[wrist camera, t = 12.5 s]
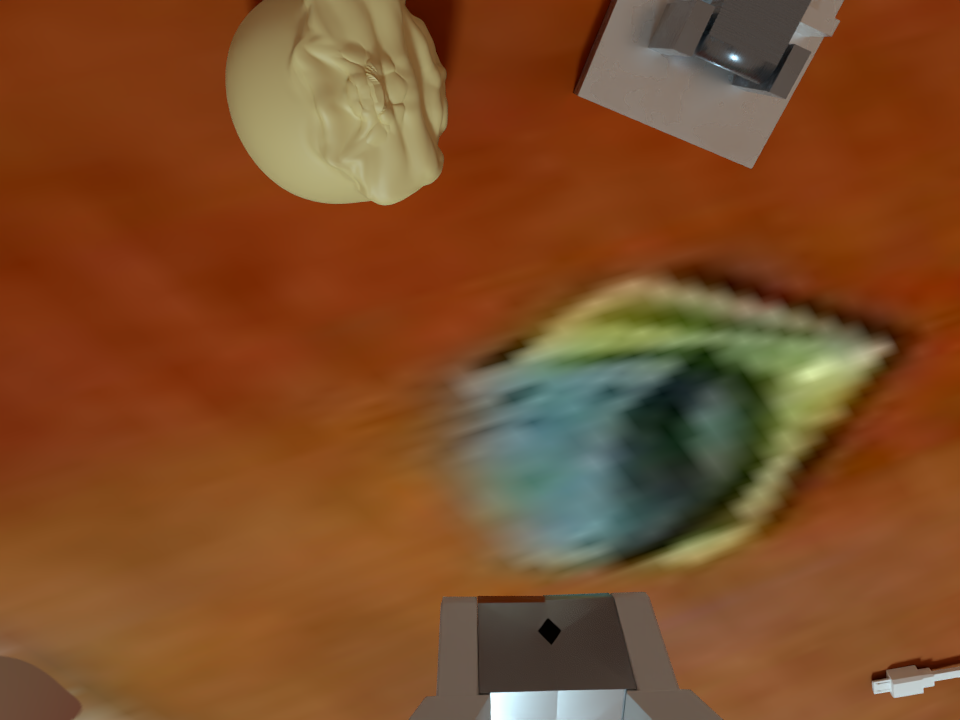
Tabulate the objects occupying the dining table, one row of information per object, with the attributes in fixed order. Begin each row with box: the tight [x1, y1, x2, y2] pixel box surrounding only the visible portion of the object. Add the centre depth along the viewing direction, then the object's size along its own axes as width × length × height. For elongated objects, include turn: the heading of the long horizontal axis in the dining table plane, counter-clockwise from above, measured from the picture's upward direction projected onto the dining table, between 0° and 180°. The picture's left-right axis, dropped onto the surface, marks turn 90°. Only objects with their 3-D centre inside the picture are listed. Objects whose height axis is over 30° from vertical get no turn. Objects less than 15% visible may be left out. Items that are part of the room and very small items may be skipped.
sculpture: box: [226, 0, 448, 205], centre depth 36 cm, size 12×12×11 cm
